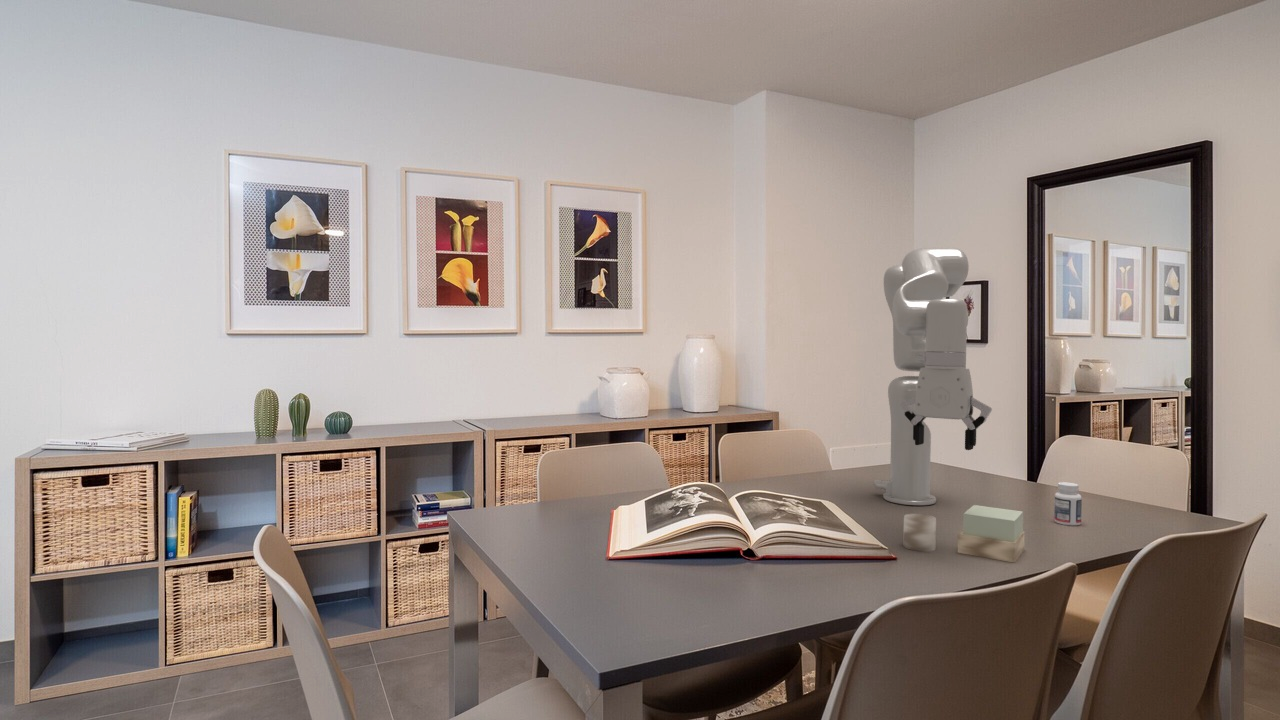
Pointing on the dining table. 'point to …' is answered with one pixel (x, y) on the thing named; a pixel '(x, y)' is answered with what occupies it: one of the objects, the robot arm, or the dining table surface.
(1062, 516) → the pill bottle
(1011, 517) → the tower top block
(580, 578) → the dining table surface
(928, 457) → the robot arm
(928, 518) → the marbled beige cylinder
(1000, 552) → the tower base block
